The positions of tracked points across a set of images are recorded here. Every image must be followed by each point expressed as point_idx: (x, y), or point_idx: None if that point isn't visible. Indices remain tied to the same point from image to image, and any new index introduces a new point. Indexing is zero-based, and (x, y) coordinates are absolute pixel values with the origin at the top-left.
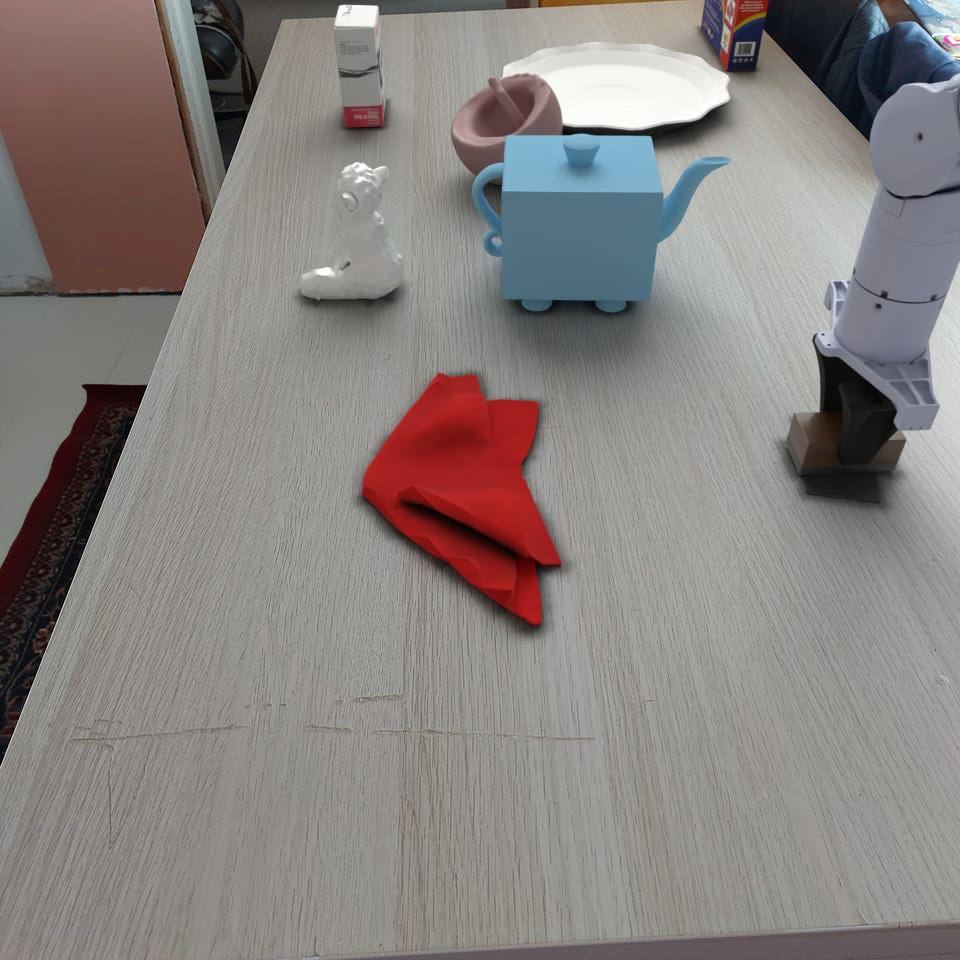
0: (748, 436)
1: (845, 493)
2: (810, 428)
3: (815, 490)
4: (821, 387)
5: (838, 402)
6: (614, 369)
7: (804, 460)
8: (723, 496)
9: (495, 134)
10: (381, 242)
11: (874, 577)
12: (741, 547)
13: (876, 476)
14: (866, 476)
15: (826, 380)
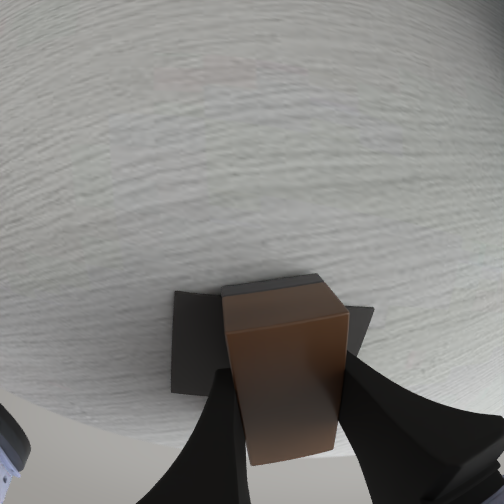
0: (346, 203)
1: (181, 353)
2: (288, 343)
3: (180, 308)
4: (391, 389)
5: (352, 404)
6: (478, 30)
7: (222, 307)
8: (152, 122)
9: None
10: None
11: (29, 344)
12: (31, 155)
13: None
14: None
15: (390, 420)
